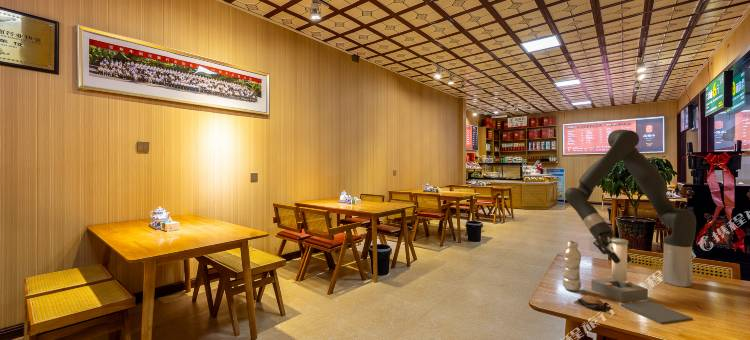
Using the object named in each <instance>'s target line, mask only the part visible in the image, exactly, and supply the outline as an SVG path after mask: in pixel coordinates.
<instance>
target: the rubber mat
mask: <svg viewBox="0 0 750 340" xmlns="http://www.w3.org/2000/svg"><path fill="white" fill-rule="evenodd" d="M619 305H620V307H622V308H623V309H624V308H625V309H626V310H628V311H631V312H633V313H635V314H637V315H640V316H641V317H644V318H646V319H649V320H651V321H653V322H655V323H658V324H660V325H663V324H670V323H678V322H684V321H691V320H693V317H691V316H690V315H686V314H684V313H682V312H680V311H679V312H678V311H676V310H674V309H671V308H668V307H666V306H664V305H661V304H659V303H656V302H653V301H651V300H647V301H646V300H643V301H637V302H629V303H627V302H626V303H620V304H619Z"/></svg>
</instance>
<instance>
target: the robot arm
mask: <svg viewBox="0 0 750 340" xmlns="http://www.w3.org/2000/svg"><path fill="white" fill-rule="evenodd" d="M639 141H640V136H639V134H638V133H637V132H636V131H634V130H632V129H617V130H613V131H611V132H610V133H609V135H608V137H607V143H608V145H609V147H610V148H609V149H608V151H607V152H606V153H605V154H604V155H602V157H600V158H599V159H598V160H597V161H595V162H594V163H592V165H590V167H588V169H587V170H586V171H585V172H584V173H583V174H582V175H581V177H580V178H579V180H578V182H579V184H578V185H579V186H578V187H569V188H568V189H566V190H565V193H564V198H565V199H566V201H567V203H568V204H569V205H570V206H571V207H572V208H573V209H574V210H575V211H576V213H577V214H578V216H579V217H580V219H581V220H582V222H583V223H584V226H586V227H585V228H587V230H588V231H589V233H590V234H591V235H592V237H593V239H594V241H593V245H594V246H595V247H596V248H597V249H598V251H600V253H602V255H607V256H609V257H610V259H611V261H612V260H613V261H614V262H615V263H619V262H620V259H619V258H618V256H617V255H616V254H615V253H613V252H614V251H613V249H612V242H611V239H613V238H618V239H624V238H623V237H620V238H619V237H617V236H616V235H614V231H613V229H612V227H611V226H610V225H609V224H608V222H607V221H606V219H605V218H604V217H603V216H602V214H600V213H599V211H598V210H597V209H596V208H595V206H594V205H593V204H591V203H590V201H588V200H589V199H590V197H591V195H592V194H593V191H594V189H595V188H596V187H597V186H598V184H599V183H600V182H601V181H602V180H603V179H604V177H605V176H606V175H607V174H608V173H609V172H610V170H612V169H613V167H615V166H616V165H617V164H618V163H619V162H620V161H622V162H623V164H624V166H625V167H626V168H627V170H628V172H629V173H630V175H631V176H632V178H633V180H634V181H635V182H636V184H637V185H638V187H639V188H640V189H641V191H642V192H643V193H644V196H645V197H646V198H647V199H648V201H649V203H650V204H651V206H652V207H653V209H654V212H655V213H656V215H657V217H658V219H659V221H660V222H661V223H662V224H663V226H665V227H667V228H671V234H669V235H665V236H664V238H663V257H662V259H663V260H662V262H663V263H662V265H663V266H662V281H663V283H666V284H668V285H671V286H677V287H681V288H682V287H684V288H685V287H686V288H687V287H688V288H689V287H691V286H692V285H693V266H694V265H693V262H692V258H693V242H694V240H695V239H696V229H697V218H696V215H695V213H694V212H692V210H689V209H684V208H680V207H679V208H678V207H676V206H675V205H674V204H673V203H672V201H671V200H670V198H669V197H668V193H667V182H666V179H665V178H664V176H663V175H662V173H661V172H660V171H659V169H658V168H657V167H656V166H655V165H654V164H653V163H652V162H650V160H648V159H647V158H646V157H645V156H643V154H642V153H641V152H639V150H638V148H637V146H638V144H639ZM629 250H630V248H629V246H628V245H627V252H628V251H629ZM631 261H632V258H631V256H630V255H629V254H628V253H627V263H630V262H631Z"/></svg>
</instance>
